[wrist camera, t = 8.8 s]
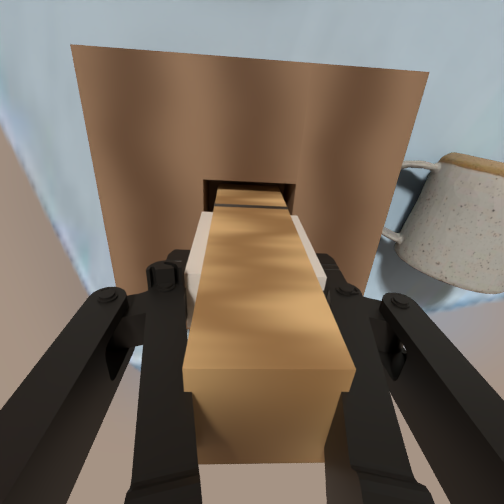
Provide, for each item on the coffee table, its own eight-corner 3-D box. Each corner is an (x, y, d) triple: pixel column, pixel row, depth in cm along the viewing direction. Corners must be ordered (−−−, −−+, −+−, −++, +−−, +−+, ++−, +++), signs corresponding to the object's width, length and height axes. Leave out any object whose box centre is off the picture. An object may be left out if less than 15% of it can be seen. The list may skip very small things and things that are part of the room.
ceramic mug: (508, 159, 23) (620, 187, 16) (457, 251, 27) (529, 305, 20) (379, 134, 22) (441, 153, 15) (344, 234, 26) (381, 285, 19)
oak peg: (278, 186, 20) (357, 368, 7) (272, 239, 22) (325, 462, 9) (218, 183, 20) (181, 367, 7) (218, 237, 22) (188, 465, 9)
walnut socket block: (386, 76, 20) (429, 72, 15) (334, 294, 28) (352, 331, 24) (109, 55, 19) (70, 44, 14) (142, 289, 27) (124, 328, 23)
